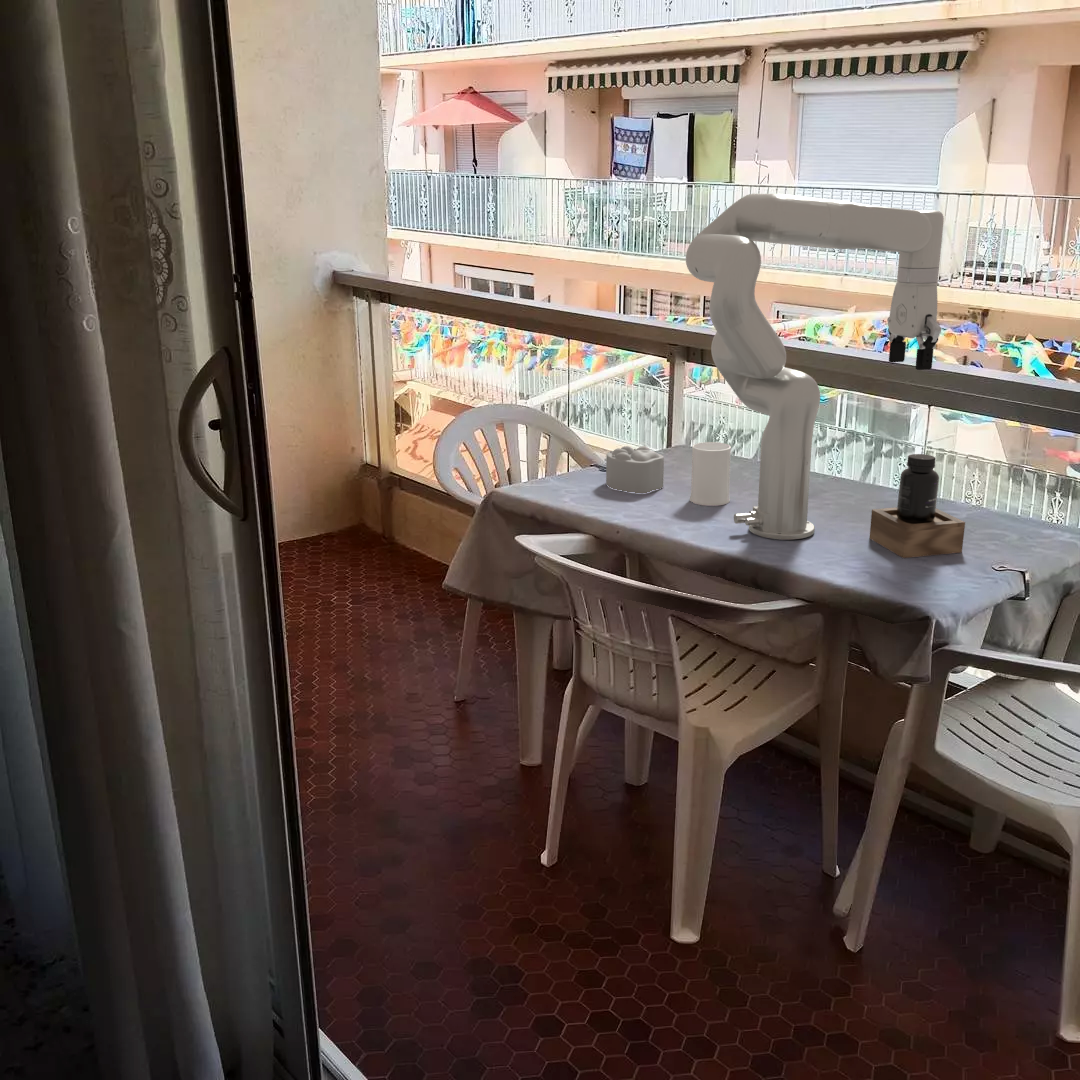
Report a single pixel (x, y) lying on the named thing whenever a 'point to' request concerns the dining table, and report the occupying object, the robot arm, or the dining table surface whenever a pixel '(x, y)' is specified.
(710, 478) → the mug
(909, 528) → the display plinth
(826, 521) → the dining table surface
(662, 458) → the lumpy-topped squat cylinder
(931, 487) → the supplement bottle
